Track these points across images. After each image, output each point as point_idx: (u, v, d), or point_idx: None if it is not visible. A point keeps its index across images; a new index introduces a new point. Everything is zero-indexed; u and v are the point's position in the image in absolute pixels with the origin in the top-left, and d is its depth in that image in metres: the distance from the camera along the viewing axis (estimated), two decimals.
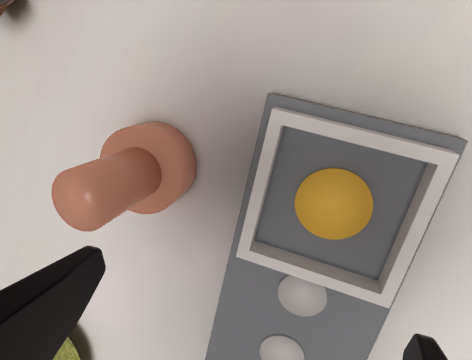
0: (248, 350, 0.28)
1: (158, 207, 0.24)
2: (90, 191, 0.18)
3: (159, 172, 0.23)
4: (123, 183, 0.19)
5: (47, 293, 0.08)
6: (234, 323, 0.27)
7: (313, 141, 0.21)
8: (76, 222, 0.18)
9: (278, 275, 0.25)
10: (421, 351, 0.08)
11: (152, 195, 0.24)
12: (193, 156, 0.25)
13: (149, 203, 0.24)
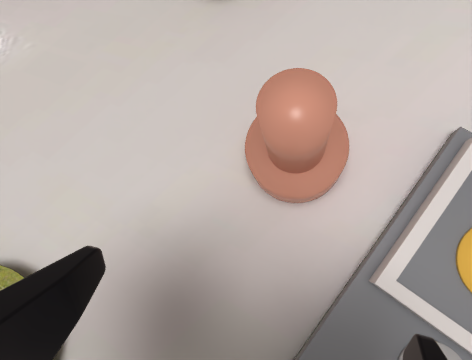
0: None
1: (300, 190, 0.20)
2: (317, 97, 0.15)
3: (325, 151, 0.20)
4: None
5: (47, 293, 0.08)
6: None
7: None
8: (275, 127, 0.15)
9: (405, 337, 0.19)
10: (421, 351, 0.08)
11: (299, 175, 0.20)
12: None
13: (290, 183, 0.20)
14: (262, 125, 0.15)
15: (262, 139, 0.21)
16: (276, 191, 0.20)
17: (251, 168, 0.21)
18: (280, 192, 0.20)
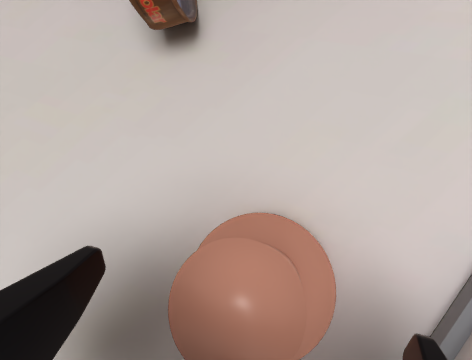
0: None
1: None
2: (273, 299, 0.08)
3: None
4: None
5: (47, 293, 0.08)
6: None
7: None
8: (198, 349, 0.08)
9: None
10: (421, 351, 0.08)
11: None
12: None
13: None
14: (177, 342, 0.09)
15: None
16: None
17: None
18: None
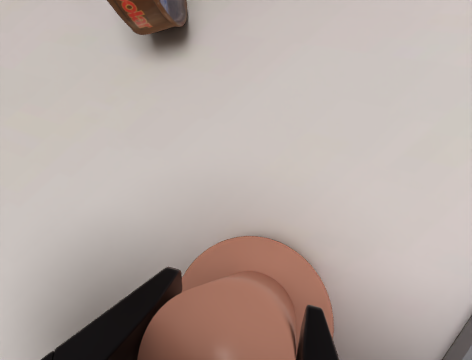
0: None
1: None
2: None
3: None
4: None
5: (141, 322, 0.08)
6: None
7: None
8: None
9: None
10: (305, 319, 0.08)
11: None
12: None
13: None
14: None
15: None
16: None
17: None
18: None
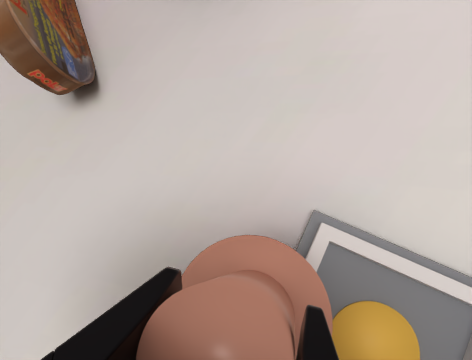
0: None
1: None
2: (256, 358, 0.07)
3: None
4: None
5: (141, 322, 0.08)
6: None
7: (355, 267, 0.20)
8: None
9: None
10: (305, 319, 0.08)
11: None
12: None
13: None
14: None
15: None
16: None
17: None
18: None
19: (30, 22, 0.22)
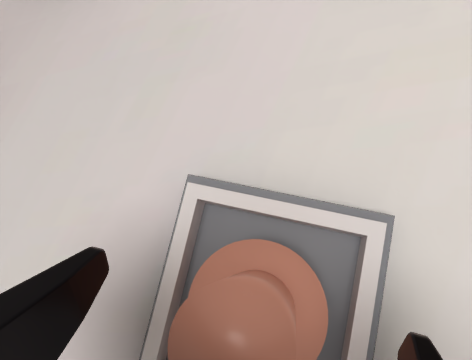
0: None
1: None
2: (265, 340, 0.09)
3: None
4: None
5: (51, 294, 0.08)
6: None
7: (235, 223, 0.19)
8: None
9: None
10: (415, 349, 0.08)
11: None
12: None
13: None
14: None
15: None
16: None
17: None
18: None
19: None
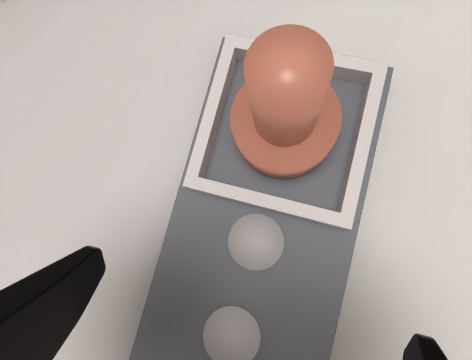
0: (188, 338, 0.21)
1: (287, 165, 0.19)
2: (313, 58, 0.13)
3: (316, 124, 0.19)
4: None
5: (47, 293, 0.08)
6: (173, 297, 0.22)
7: None
8: (263, 90, 0.13)
9: (229, 221, 0.22)
10: (421, 351, 0.08)
11: (287, 149, 0.19)
12: None
13: (277, 157, 0.19)
14: (249, 87, 0.13)
15: (249, 108, 0.19)
16: (261, 165, 0.19)
17: (236, 139, 0.19)
18: (266, 166, 0.19)
19: None
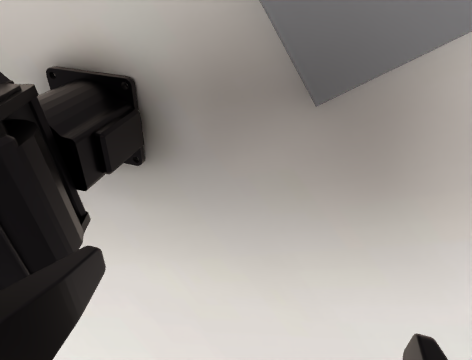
0: None
1: None
2: None
3: None
4: None
5: (47, 293, 0.08)
6: None
7: None
8: None
9: None
10: (421, 351, 0.08)
11: None
12: None
13: None
14: None
15: None
16: None
17: None
18: None
19: None
